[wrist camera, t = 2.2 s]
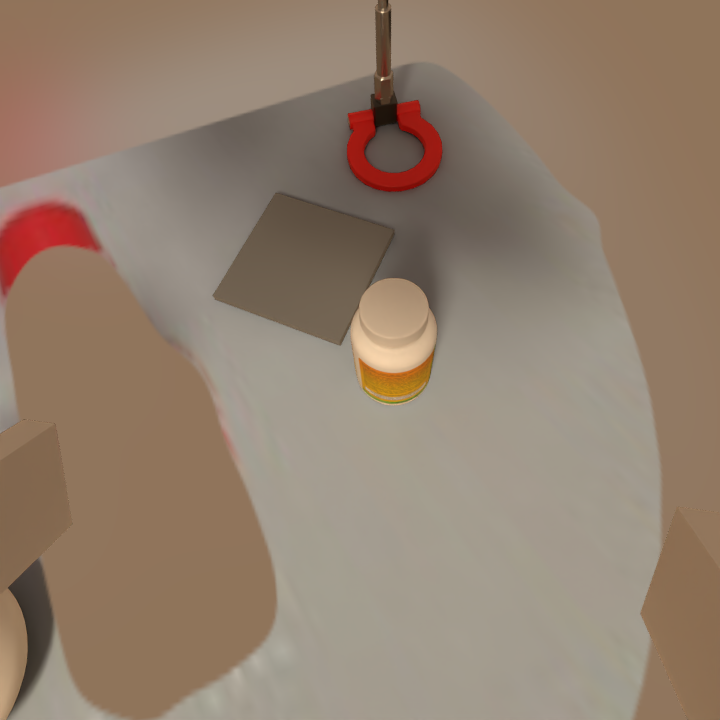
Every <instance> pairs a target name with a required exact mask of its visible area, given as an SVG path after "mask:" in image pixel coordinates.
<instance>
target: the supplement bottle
mask: <svg viewBox="0 0 720 720" xmlns="http://www.w3.org/2000/svg"><path fill="white" fill-rule="evenodd" d="M436 339H437V324H436V320H435V317H434V315H433V313H432V311H431V310H430V308H429V304H428V300H427V298H426V295H425V294H424V292H423V291H422V290H421V289H420V288H419V287H418V286H417V285H416V284H414V283H412V282H410V281H408V280H405V279H401V278H387V279H383V280H380V281H378V282H376V283H374V284H372V285H371V286H370V287H369V288H368V289H367V290H366V291H365V292H364V294H363V295H362V297H361V300H360V304H359V308H358V310H357V311H356V313H355V315H354V317H353V320H352V323H351V343H352V349H353V356H354V362H355V369H356V375H357V378H358V382H359V384H360V386H361V388H362V389H363V391H364V392H365V393H366V394H367V395H368V396H369V397H370V398H372V399H373V400H375V401H377V402H379V403H382V404H386V405H401V404H405V403H408V402H410V401H412V400H414V399H415V398H417V397H418V396H419V395H420V394H421V393H422V392H423V391H424V389H425V388H426V386H427V384H428V381H429V378H430V374H431V367H432V361H433V356H434V350H435V345H436Z"/></svg>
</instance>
